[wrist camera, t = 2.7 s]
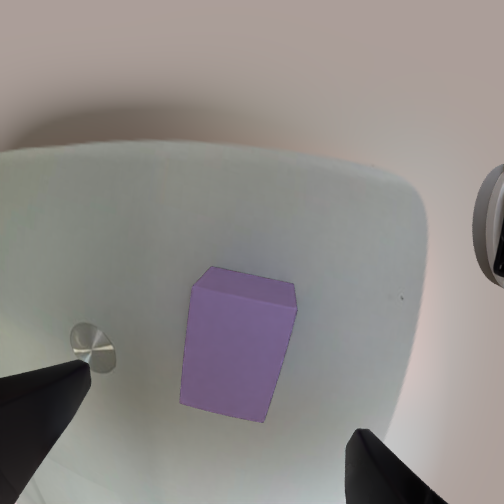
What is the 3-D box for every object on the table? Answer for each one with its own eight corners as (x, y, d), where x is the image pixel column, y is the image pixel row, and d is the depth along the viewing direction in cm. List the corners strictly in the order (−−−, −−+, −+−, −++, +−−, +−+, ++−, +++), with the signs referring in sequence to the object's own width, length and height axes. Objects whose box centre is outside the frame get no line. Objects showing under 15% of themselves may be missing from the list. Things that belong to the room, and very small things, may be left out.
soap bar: (211, 265, 14) (191, 285, 11) (294, 283, 14) (298, 308, 10) (195, 368, 15) (178, 404, 12) (267, 384, 15) (263, 423, 12)
